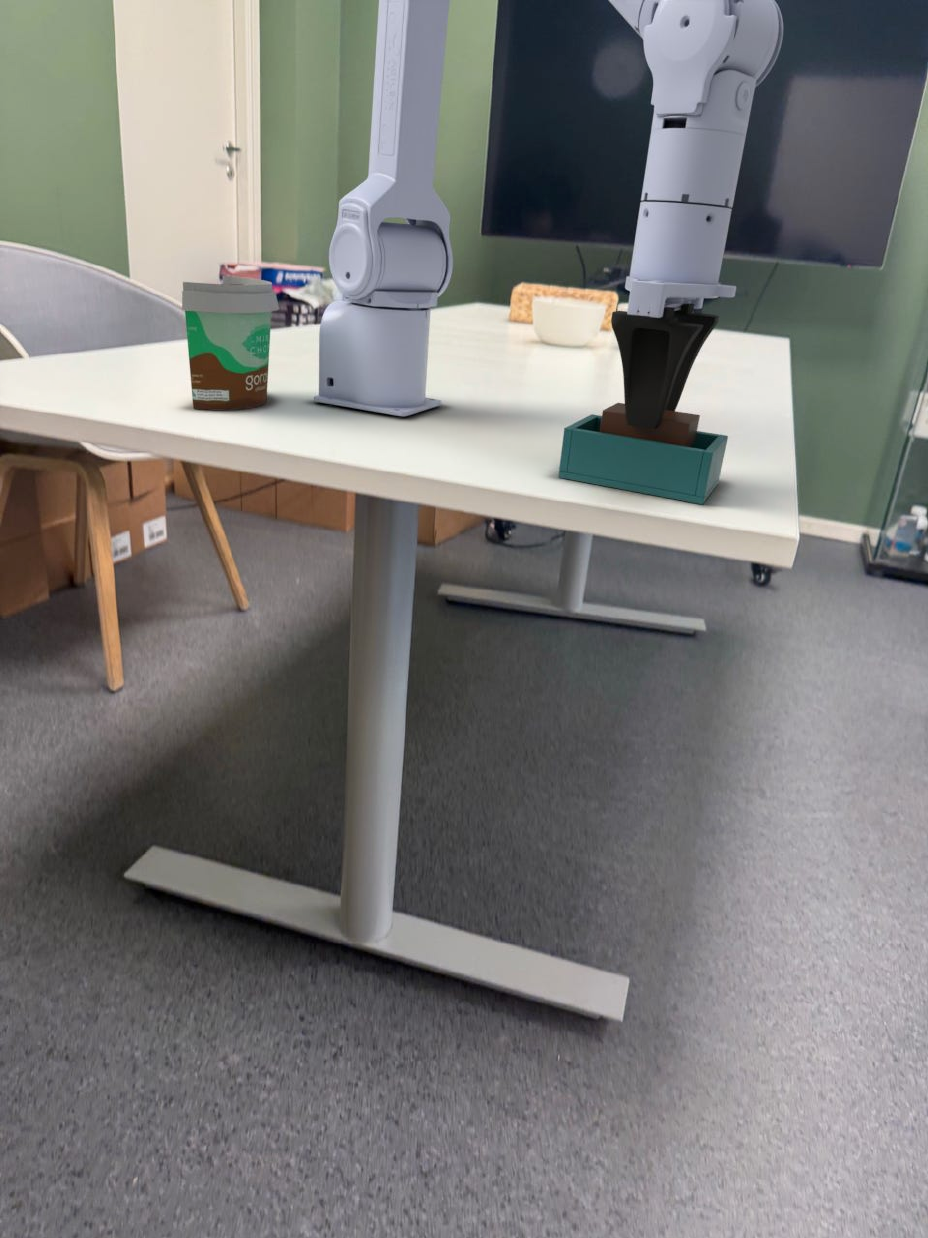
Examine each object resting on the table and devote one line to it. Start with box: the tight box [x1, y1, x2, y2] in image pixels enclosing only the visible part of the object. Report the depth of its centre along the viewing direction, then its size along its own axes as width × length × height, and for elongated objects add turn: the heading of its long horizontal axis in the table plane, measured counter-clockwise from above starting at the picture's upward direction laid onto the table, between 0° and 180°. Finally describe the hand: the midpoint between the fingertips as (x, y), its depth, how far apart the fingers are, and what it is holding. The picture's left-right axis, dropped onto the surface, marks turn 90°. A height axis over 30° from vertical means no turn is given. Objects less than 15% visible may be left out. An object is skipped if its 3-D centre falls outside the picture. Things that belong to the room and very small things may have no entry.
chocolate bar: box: [600, 402, 701, 447], centre depth 60 cm, size 6×4×2 cm, turn 66°
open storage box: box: [558, 414, 729, 505], centre depth 60 cm, size 10×7×4 cm, turn 66°
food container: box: [181, 275, 280, 411], centre depth 73 cm, size 12×6×10 cm, turn 179°
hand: (649, 421), depth 59 cm, fingers closed on chocolate bar, 4 cm apart
